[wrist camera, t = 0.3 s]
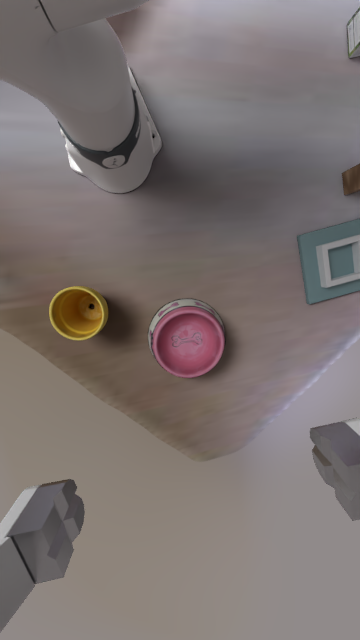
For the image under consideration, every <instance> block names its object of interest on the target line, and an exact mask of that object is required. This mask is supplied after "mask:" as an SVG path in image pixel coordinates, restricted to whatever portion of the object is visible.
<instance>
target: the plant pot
mask: <svg viewBox="0 0 360 640" xmlns="http://www.w3.org/2000/svg"><path fill="white" fill-rule="evenodd" d="M90 304H93V305H94V309H90V308H89V305H90ZM49 316H50V320H51V323H52V325H53V327H54V328H55V329H56V331H57V332H58V333H60V334H61V335H62V336H64V337H66V338H68V339H71V340H86V339H89V338H91V337H93V336H95V335H96V334H97V333H99V332H100V331H101V330H102V328H103V327H104V326H105V324H106V322H107V319H108V306H107V302H106V300H105V299H104V298H103V297H102V296H101V294H99V293H98V292H97V291H95V290H94V289H92V288H89V287H84V286H75V287H69V288H66V289H63V290H61V291H60V292H59V293H57V294H56V295H55V297H54V298H53V299H52V301H51V304H50V308H49Z"/></svg>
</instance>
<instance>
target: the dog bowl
mask: <svg viewBox="0 0 360 640" xmlns="http://www.w3.org/2000/svg"><path fill="white" fill-rule="evenodd" d="M148 343H149V347H150V350H151V352H152V354H153V356H154V357H155V359H156V360H157V362H158V363H159V364H160V366H161V367H162V368H164V369H165V370H166V371H168V372H169V373H171V374H173V375H175V376H178V377H182V378H193V377H198V376H201V375H203V374H205V373H207V372H209V371H210V370H211V369H212V368H213V367H215V365H216V364H217V363H218V362H219V360H220V358H221V356H222V354H223V351H224V347H225V331H224V326H223V323H222V320H221V318H220V316H219V315H218V313H217V312H216V311H215V310H214V309H213V308H212V307H211V306H209V305H208V304H206V303H204V302H202V301H200V300H196V299H178V300H175V301H172V302H169V303H167V304H166V305H164V306H163V307H162V308H161V309H159V310H158V312H157V313H156V314H155V315H154V317H153V319H152V321H151V323H150V326H149V330H148Z"/></svg>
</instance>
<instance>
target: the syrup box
mask: <svg viewBox="0 0 360 640" xmlns="http://www.w3.org/2000/svg"><path fill="white" fill-rule="evenodd" d="M347 38H348V54H349V58H353V57H358V56H360V7H359V8H358V10H357V11H356V13H355V14H354V15H353V17H352V18H351V19H350V21H349V22H348V24H347Z"/></svg>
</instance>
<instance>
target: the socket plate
mask: <svg viewBox="0 0 360 640" xmlns="http://www.w3.org/2000/svg"><path fill="white" fill-rule="evenodd" d="M297 239H298V246H299V253H300V260H301V266H302V273H303V280H304V287H305V293H306V300H307V304H312V303H316V302H319V301H323V300H327V299H330V298H334V297H337V296H341V295H345V294H348V293H352V292H355V291H359V290H360V219H357V220H353V221H349V222H346V223H342V224H339V225H335V226H331V227H328V228H324V229H321V230H317V231H313V232H310V233H306V234H303V235H299V236H297Z"/></svg>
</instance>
